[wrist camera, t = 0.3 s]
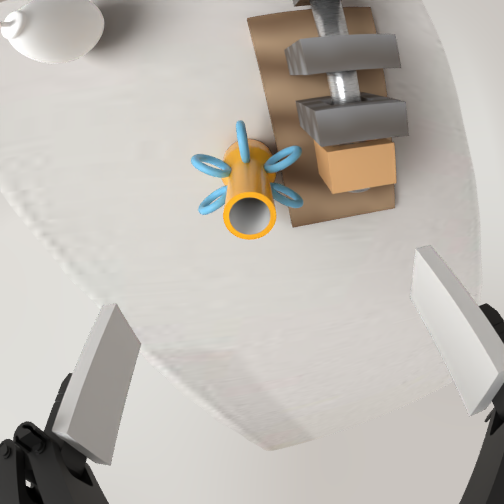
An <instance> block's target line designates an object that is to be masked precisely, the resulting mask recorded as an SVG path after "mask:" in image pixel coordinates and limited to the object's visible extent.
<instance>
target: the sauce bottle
mask: <svg viewBox="0 0 504 504" xmlns="http://www.w3.org/2000/svg"><path fill="white" fill-rule="evenodd" d="M0 27H2V35H3V36H4V37H5V38H7V39H8V40H9V41H10V43H11V44H12V46H13V47H14V48H15V49H16V50H17V51H19V52H20V53H21V54H23V55H25V56H27V57H28V58H30V59H33V60H36V61H39V62H44V63H66V62H70V61H74V60H76V59H78V58H80V57H82V56H84V55H85V54H87V53H88V52H89V51H90V50H91V49H92V48H93V47H94V46H95V45H96V44H97V43H98V41H99V39H100V38H101V36H102V33H103V30H104V17H103V15H102V13H101V11H100V10H99V8H98V7H97V6H96V5H95V4H93V3H92V2H91V1H89V0H33V1H31V2H29V3H27V4H26V5H24V6H23V7H21V8H20V9H19V10H17V11H13V12H11V13H10V14H9V15H8V16H7V17H6V19H5V21H4V22H0Z"/></svg>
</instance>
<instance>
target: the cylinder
mask: <svg viewBox="0 0 504 504" xmlns="http://www.w3.org/2000/svg"><path fill="white" fill-rule="evenodd" d="M236 131H237V138H238V141H237V142H235V143H234V144H232V145H231V146H230V147H229V148H228V149H227V151H226V153H225V155H224V158H223V161H221V160H220V159H217V158H215V157H212V156H209V155H204V154H196V155H194V156H193V157H192V158H191V163H192V165H193V166H194V167H195V168H197V169H198V170H200V171H201V172H203V173H205V174H208V175H211V176H214V177H219V178H222V181H223V183H224V185H225V186H224V187H221V188H219V189H217V190H216V191H214V192H213V193H211V194H210V195H209V196H208V197H206V198H205V199H204V200H203V202H202V203H201V204H200V206H199V209H198V210H199V213H200V214H202V215H206V214H209V213H212V212H213V211H215V210H217V209H218V208H220V207H221V206H222V205H224V204H225V206H224V213H223V219H224V223H225V225H226V227H227V229H228V230H229V231H230V232H231V233H232V234H233V235H235V236H237V237H239V238H242V239H248V240H251V239H257V238H260V237H263V236H264V235H266V234H267V233H268V232H270V230H271V229H272V228H273V226H274V224H275V221H276V209H275V205H274V200H273V199H275V200H276V201H278V202H280V203H281V204H284V205H286V206H289V207H292V208H300V207H302V206H303V199H302V198H301V196H300V195H299V194H297V193H296V192H295V191H293V190H292V189H290V188H288V187H286V186H284V185H281V184H278V183H274V181H275V178H276V172H278V171H280V170H283V169H285V168H286V167H288V166H290V165H291V164H293V163H294V162H295V161H296V160H297V159H298V158H299V157H300V156H301V154H302V149H301V147H299V146H290V147H287V148H285V149H283V150H281V151H279V152H277V153H276V154H274V155H273V156H272V153H271V151H270V150H269V149H268V147H267V146H266V145H264V144H263V143H261V142H260V141H257V140H253V139H247V134H246V128H245V124H244V122H243V121H241V120H240V121H238V122H237V123H236ZM290 154H291V155H290ZM287 155H289V156H288V157H287V158H285V159H284V160H282V161H280V162H278V163H276V162H277V161H279V160H280V159H282V158H283V157H285V156H287ZM202 162H207V163H210V164H213V165H215V166H217V167H219V168H220V169H221V170H220V169H216V168H213V167H210V166H208V165H206V164H204V163H202ZM275 163H276V164H275ZM276 190H277V191H280V192H282V193H284V194H286V195H288V196H290V197H291V198H292V199H294V200H292V199H289V198H287V197H285V196H283V195H281V194H280V193H278V192H277V191H276ZM221 195H222V196H221ZM219 196H221V197H220V198H219V199H217V200H216V201H215V202H213V201H214V200H215V199H216V198H218V197H219ZM211 202H213V203H212V204H210V203H211ZM209 204H210V205H209Z"/></svg>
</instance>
